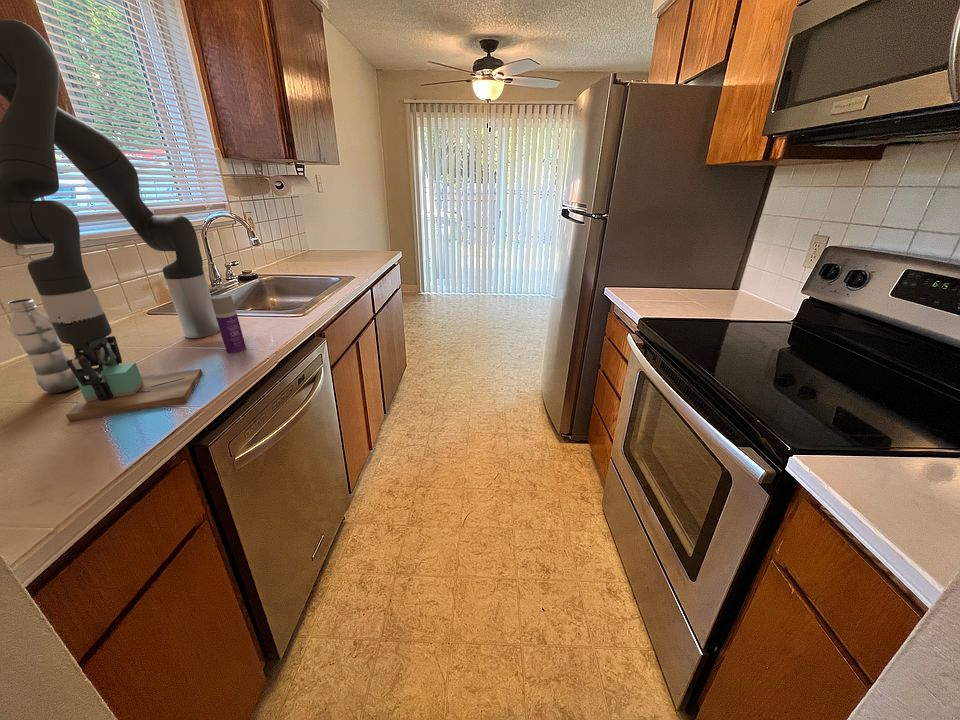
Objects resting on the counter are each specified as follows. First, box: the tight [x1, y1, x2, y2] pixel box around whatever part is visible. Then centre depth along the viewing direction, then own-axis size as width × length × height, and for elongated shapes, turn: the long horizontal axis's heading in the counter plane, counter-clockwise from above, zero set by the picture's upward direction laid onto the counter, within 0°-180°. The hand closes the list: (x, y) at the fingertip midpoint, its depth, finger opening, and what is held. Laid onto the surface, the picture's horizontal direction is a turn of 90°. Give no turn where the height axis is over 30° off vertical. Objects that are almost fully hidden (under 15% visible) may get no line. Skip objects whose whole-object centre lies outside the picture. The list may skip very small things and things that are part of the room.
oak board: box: [65, 368, 204, 422], centre depth 84 cm, size 14×19×2 cm
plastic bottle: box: [7, 298, 79, 394], centre depth 83 cm, size 6×7×20 cm
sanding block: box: [75, 362, 144, 402], centre depth 81 cm, size 5×8×5 cm, turn 111°
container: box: [211, 293, 247, 356], centre depth 103 cm, size 5×5×15 cm
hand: (112, 392), depth 82 cm, fingers closed on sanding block, 5 cm apart
